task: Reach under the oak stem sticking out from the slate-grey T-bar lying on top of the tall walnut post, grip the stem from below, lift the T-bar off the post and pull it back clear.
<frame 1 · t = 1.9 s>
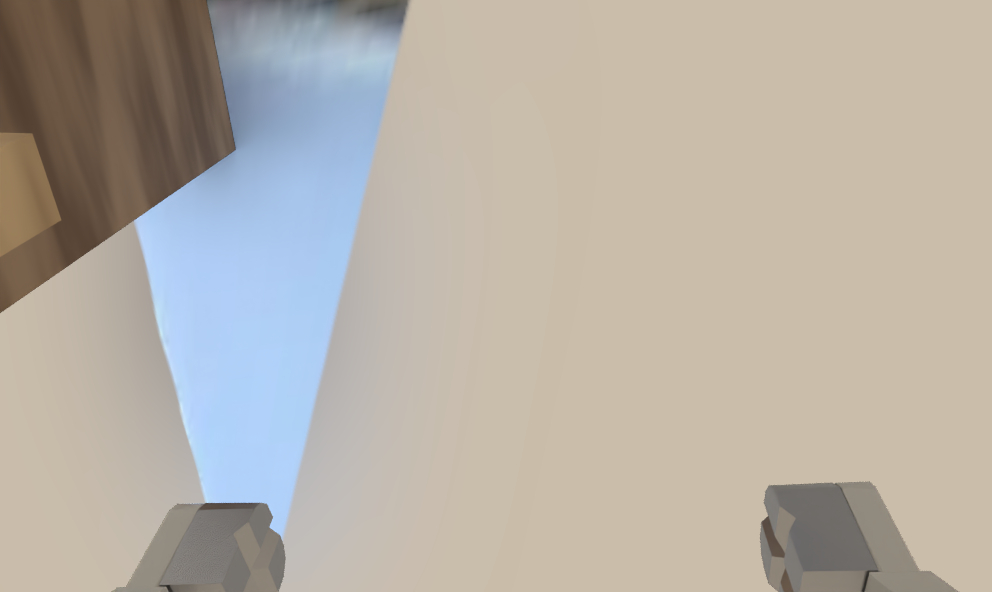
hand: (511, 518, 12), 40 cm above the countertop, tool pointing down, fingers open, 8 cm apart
post: (178, 34, 49), on the countertop
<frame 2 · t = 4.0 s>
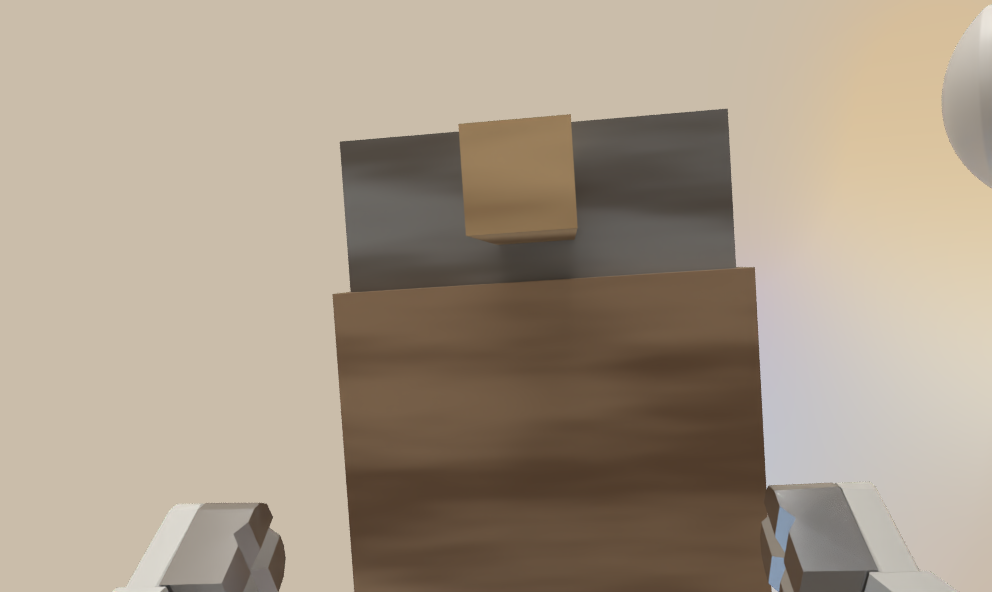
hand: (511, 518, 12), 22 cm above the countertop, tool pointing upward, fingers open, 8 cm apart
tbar: (539, 279, 30), point 26 cm above the countertop, touching post
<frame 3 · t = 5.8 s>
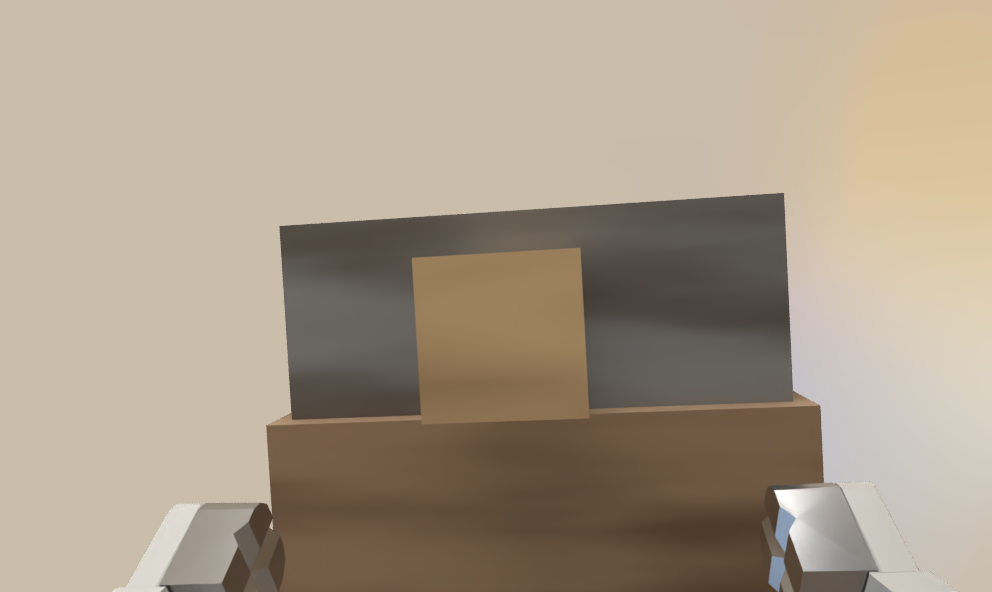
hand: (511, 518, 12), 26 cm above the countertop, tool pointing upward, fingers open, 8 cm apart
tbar: (536, 400, 23), point 26 cm above the countertop, touching post
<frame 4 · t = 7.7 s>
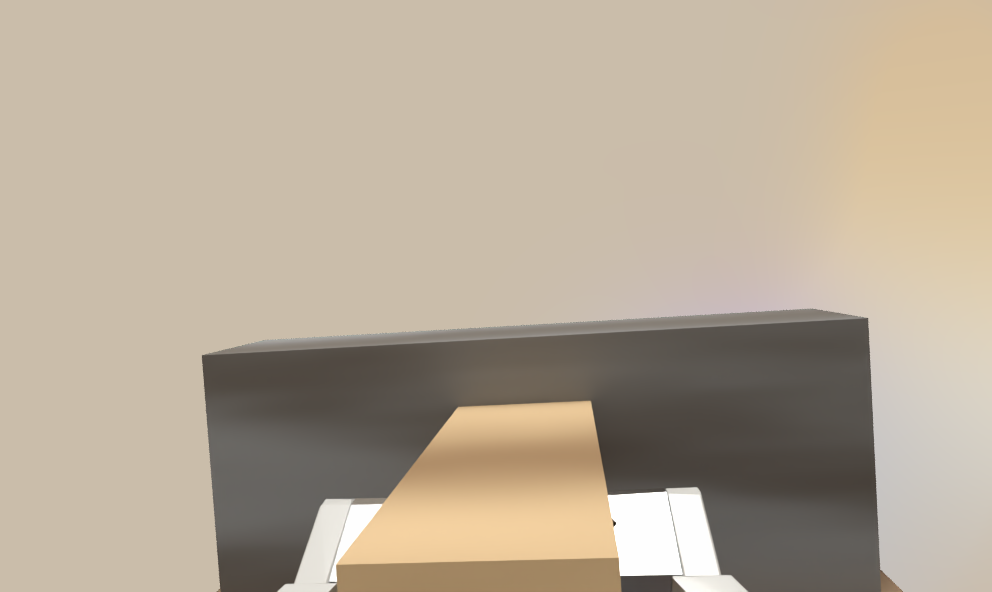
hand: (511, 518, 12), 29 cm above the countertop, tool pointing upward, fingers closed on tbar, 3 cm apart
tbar: (539, 567, 18), point 26 cm above the countertop, touching gripper, post
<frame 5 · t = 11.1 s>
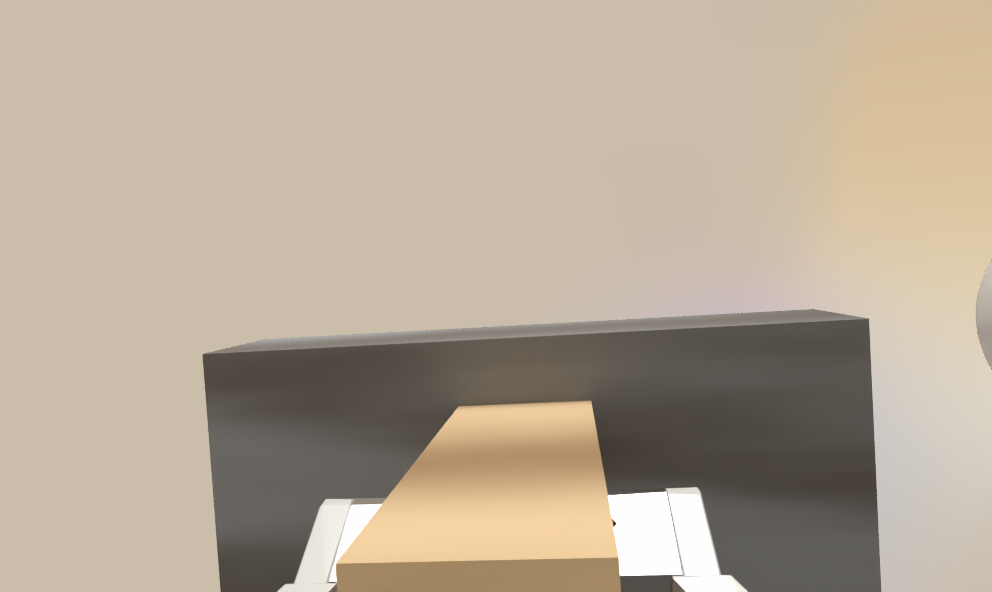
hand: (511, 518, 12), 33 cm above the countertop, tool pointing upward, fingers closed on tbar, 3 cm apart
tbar: (539, 567, 18), point 30 cm above the countertop, touching gripper
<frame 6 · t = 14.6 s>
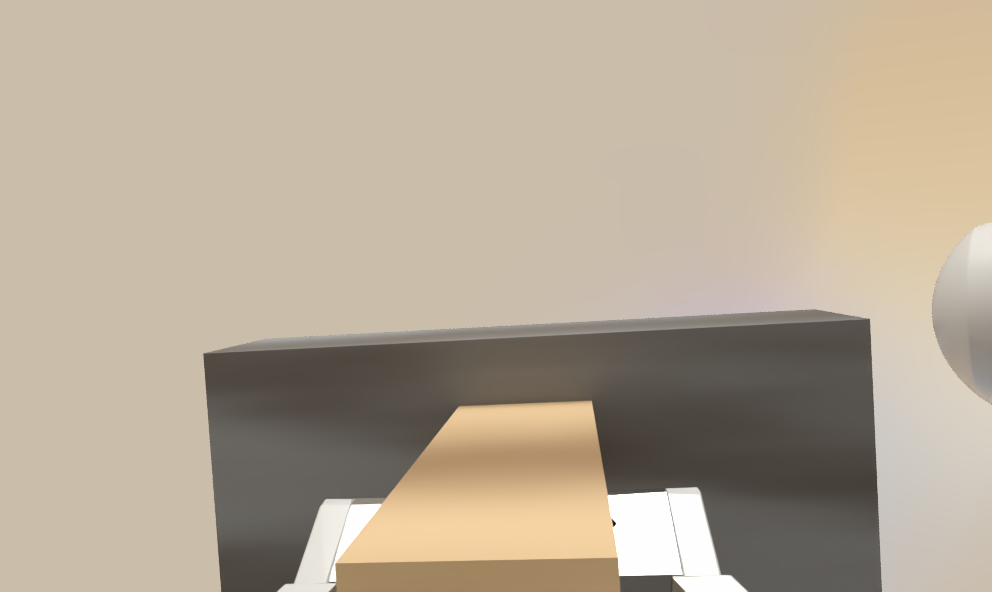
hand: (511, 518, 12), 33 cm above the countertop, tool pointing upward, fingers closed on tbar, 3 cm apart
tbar: (539, 567, 18), point 30 cm above the countertop, touching gripper
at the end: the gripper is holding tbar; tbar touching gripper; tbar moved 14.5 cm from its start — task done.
